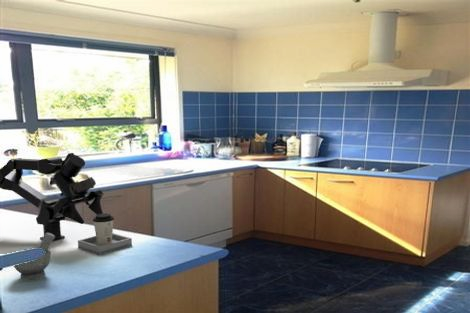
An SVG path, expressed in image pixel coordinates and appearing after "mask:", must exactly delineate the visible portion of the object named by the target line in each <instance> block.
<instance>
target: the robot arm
mask: <svg viewBox="0 0 470 313" xmlns="http://www.w3.org/2000/svg"><path fill="white" fill-rule="evenodd" d="M85 165H86V162H85V159H83V157H81V156H79V155H77V154H75V153H74V152H69V153H67V155H66V157H65V158H64V160H63V159H62V158H61V157H60V156H56V157H50V158H49V157H47V158H42V159H38V158H37V159H36V158H35V159H33V158H21V157H18V158H17V157H16V158H11V159H9V160H7V163H6V164H4V165H3V166H2V167H1V168H0V189H2V190H4V191H12V192H13V193H15V194H16V195H18V196H19V197H21V198H22V199H24V200H25V201H27V202H28V203H30V204H31V205H33V206H35V207H36V208H37V209H38V213H39V214H37V216H36V218H35V221H36V224H37V225H42V228H43V229H42V230H43V236H41V237H39V239H40V240H41V241H42V240H43V239H44V237H45V233H51V234H53V235H54V236H55V238H54V239H53V240H52V242H53V241H57V240H62V239H65V238H66V236H65V235H62V231H61V230H62V228H61V221H65V220H66V218H68V219H70V220H73V221H74V222H76V223H79V224H81V225H83V224H84V223H85V221H84V218H83V217H82V216H81V214H80V212H79V211H78V210H77V208H76V206H77V205H80V204H84V203H85V205H86V206H87V207H88V208H89V209H90V210H91V211H92V212H93V214H95V215H98V214H104V213H103V209H102V206H101V199H102V198H103V196H104V193H103V191H102V190H101V189H95V190H91V189H93V188H95V186H96V180H95V179H94V178H93V176H90V177H87V178H85V179H84V180H83V179H82V180H81V181H75V179H74V178H76V177H77V176H78V174H79V173H81V171H82V170H83V168H84V167H85ZM23 170H24V171H35V172H36V171H37V172H38V173H39V174H43V175H46V176H48V175H54V176H52V177H50V180H49V186H53V185H55V186H56V187H57V188H58V190H59V191H60V194H59V195H60V197H61V198H60V197H59V196H57V195H51V196H46V195H45V194H43V193H42V192H40V191H39V190H37V189H35V188H34V187H32V186H31V185H29V184H28V183H27V182H25V181H23V177H22V176H23V174H24V171H23ZM89 190H91V191H90V192H89ZM88 192H89V193H88Z"/></svg>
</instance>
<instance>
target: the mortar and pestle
mask: <svg viewBox="0 0 470 313" xmlns="http://www.w3.org/2000/svg"><path fill="white" fill-rule="evenodd" d="M43 237H44V236H43ZM54 238H55V236H54V235H53V234H51V233H45V237H44V239H43V240H42V239H41V242H40V244H39V246H38V247H37V248H42V249H44V250H45V251H46V253H45V255H44V256H43V257H41V258H39V259H37V260H34V261H30V262H27V263H22V264H19V265H15V266H13V267H14V269H15V270H16V271H17V272H18V273H19V274H20V275H19V276H20V280H22V281H23V282H33V281H37V280H40V279H43V278H44V277H45V275H46V272H45V269H46V268H47V267H48V266H49V264H50V262H51V256H52V252H51V251H52V250H51V249H50V246H51V244H52V243H53V241H52V240H53V239H54ZM32 248H33V247H31V248H29V249H32ZM27 249H28V248H24V249H22V250H27ZM22 250H20V251H22Z"/></svg>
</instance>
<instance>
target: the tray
mask: <svg viewBox="0 0 470 313" xmlns="http://www.w3.org/2000/svg"><path fill="white" fill-rule="evenodd" d="M132 245H133V242H132V237H129V236H125V235H121V234H117V233H114V232H113V233H112V243H110V244H107V245H103V246H98V244H97V238H96V235H94V236H91V237H90V236H89V237H86V238H83V239H79V240H77V246H78V249H80V248H81V250H83V251H87V252H89V253H92V252H93V254H95V253H96V255H98V254H99V256H101V255H104V253H105V254H107V253H111V252H115V251H119V250H122V249H124V248H128V247H131V246H132ZM114 250H115V251H114ZM100 254H101V255H100Z"/></svg>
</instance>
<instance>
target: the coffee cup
mask: <svg viewBox="0 0 470 313" xmlns="http://www.w3.org/2000/svg"><path fill="white" fill-rule="evenodd" d="M114 220H115V218H114V216H112V215H111V214H110V213H103V214H98V215H97V214H95V217H93V219H92V222H93V227H94V232H95V236H96V238H97V244H98V246H103V245H107V244H110V243H112V233H114V232H113V230H114Z"/></svg>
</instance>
